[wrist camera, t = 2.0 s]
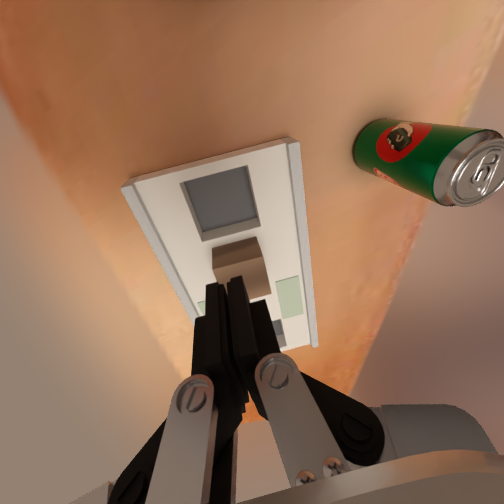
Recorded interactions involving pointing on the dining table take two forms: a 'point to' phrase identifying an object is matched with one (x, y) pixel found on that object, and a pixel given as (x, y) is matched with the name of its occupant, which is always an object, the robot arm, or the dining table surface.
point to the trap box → (233, 228)
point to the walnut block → (242, 266)
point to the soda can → (434, 159)
